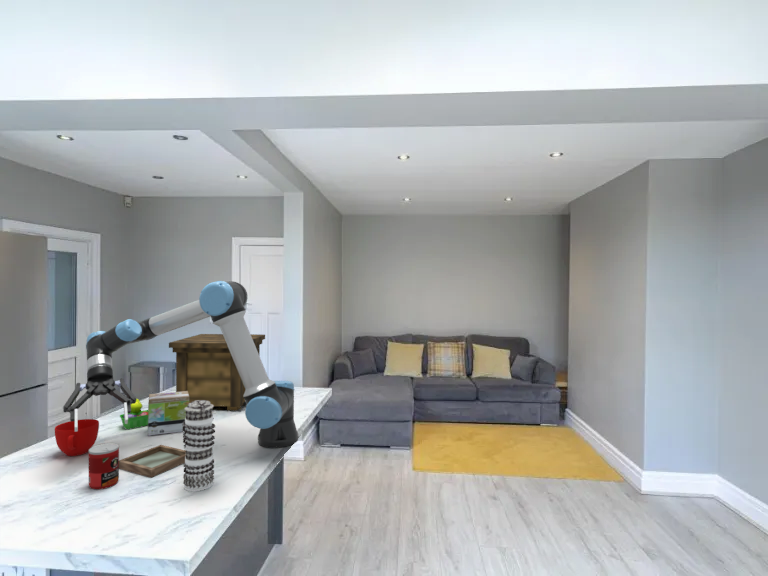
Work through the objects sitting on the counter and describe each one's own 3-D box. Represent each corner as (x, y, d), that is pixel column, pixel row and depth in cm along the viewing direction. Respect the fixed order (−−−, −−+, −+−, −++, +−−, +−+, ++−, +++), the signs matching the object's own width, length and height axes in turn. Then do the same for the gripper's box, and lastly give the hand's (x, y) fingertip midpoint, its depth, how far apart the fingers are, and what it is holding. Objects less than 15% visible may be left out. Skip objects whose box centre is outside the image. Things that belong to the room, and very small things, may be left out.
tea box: (147, 437, 173) (147, 399, 173) (148, 429, 182) (148, 393, 182) (189, 431, 180) (189, 395, 180) (187, 424, 189) (187, 389, 188)
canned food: (104, 491, 128) (104, 453, 128) (81, 488, 130) (81, 451, 129) (125, 479, 135) (125, 444, 135) (103, 477, 137) (103, 442, 137)
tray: (193, 459, 151) (193, 452, 151) (151, 477, 137) (151, 470, 137) (160, 451, 158) (160, 444, 158) (117, 468, 144) (117, 460, 144)
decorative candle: (179, 482, 134) (179, 400, 133) (211, 475, 139) (211, 396, 139) (185, 494, 126) (185, 408, 126) (218, 486, 131) (219, 403, 131)
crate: (200, 393, 240) (201, 333, 239) (264, 394, 239) (265, 334, 239) (168, 412, 205) (168, 342, 204) (243, 413, 204) (243, 343, 204)
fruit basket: (123, 431, 179) (123, 403, 179) (118, 425, 186) (118, 399, 185) (153, 425, 186) (154, 399, 186) (148, 420, 193) (148, 394, 193)
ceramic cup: (46, 466, 144) (46, 436, 144) (60, 448, 160) (60, 421, 160) (92, 460, 149) (92, 431, 149) (102, 443, 165) (102, 417, 165)
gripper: (139, 373, 163) (144, 424, 150) (55, 381, 148) (53, 438, 136) (141, 361, 158) (146, 412, 146) (54, 368, 144) (53, 426, 132)
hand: (102, 425), depth 141 cm, fingers open, 13 cm apart
